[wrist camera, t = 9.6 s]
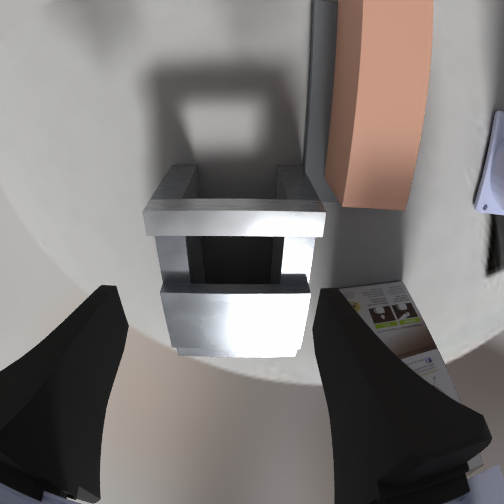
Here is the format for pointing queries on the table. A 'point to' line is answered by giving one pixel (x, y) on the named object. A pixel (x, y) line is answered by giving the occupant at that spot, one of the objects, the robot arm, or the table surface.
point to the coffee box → (404, 335)
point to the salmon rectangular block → (378, 100)
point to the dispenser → (235, 295)
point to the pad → (320, 95)
